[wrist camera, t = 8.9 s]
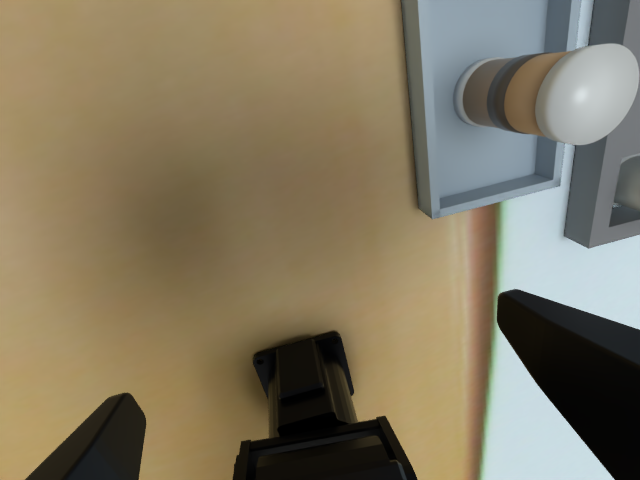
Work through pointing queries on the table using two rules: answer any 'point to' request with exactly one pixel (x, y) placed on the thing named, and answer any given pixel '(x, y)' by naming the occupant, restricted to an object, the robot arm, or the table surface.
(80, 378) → the table surface
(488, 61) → the fuse
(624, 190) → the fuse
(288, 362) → the robot arm
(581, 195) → the fuse block
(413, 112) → the parts tray
